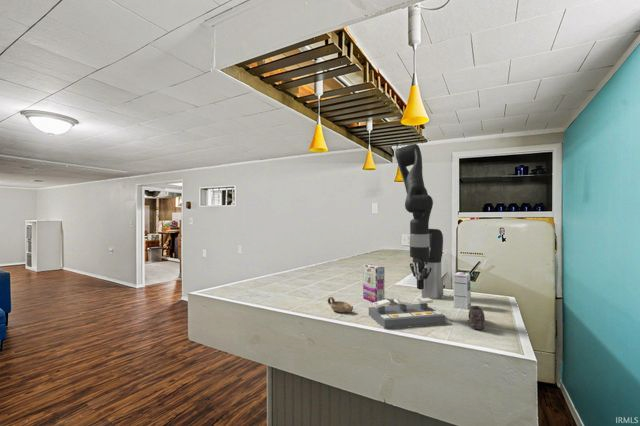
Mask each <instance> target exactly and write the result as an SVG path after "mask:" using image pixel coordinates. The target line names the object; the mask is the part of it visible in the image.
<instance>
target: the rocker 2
mask: <svg viewBox="0 0 640 426" xmlns="http://www.w3.org/2000/svg"><path fill="white" fill-rule="evenodd" d="M414 302H415V303H416V304H423V303H427V304H433V303H434V299H430V298H425V297H422V298H414Z"/></svg>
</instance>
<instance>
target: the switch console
mask: <svg viewBox="0 0 640 426" xmlns="http://www.w3.org/2000/svg"><path fill="white" fill-rule="evenodd" d="M428 304H429V303H423V304H419V303H416V304H415V303H412V306H410V305H404V304H399V305H386V306H382V307H379V308H375V307H374V306H372V307H371V306H370V307H368V315H369V317H371V318H372V319H373V320H374V321H375V322H376V323H377V322H378V323H377V324H379V326H381V327H382V326H383V327H384V328H387V329H395V328H394V327H399V328H407V327H408V326H411V327H422V326H423V327H424V326H433V325H442V324H443V325H444V324H445V325H446V315H445V314H443V313H441V312H439V311H438V310H436V309H434V308H432V307H430V306H428ZM383 327H382V328H383ZM384 328H383V329H384Z"/></svg>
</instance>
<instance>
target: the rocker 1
mask: <svg viewBox="0 0 640 426" xmlns="http://www.w3.org/2000/svg"><path fill="white" fill-rule="evenodd" d="M390 305H391V301H390V300H388V299H386V298H384V300H381V301H378V302H372V307H375V308H379V307H382V306H390Z"/></svg>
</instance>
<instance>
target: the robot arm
mask: <svg viewBox="0 0 640 426" xmlns="http://www.w3.org/2000/svg"><path fill="white" fill-rule="evenodd" d="M394 152H395V153H394V154H395V158H396V162H397V164H398V168H399V171H400V174H401V176H402V181H403V182H404V188H405V191H406V197H405V203H404V207H405V210H406V211H407V212H408V213H410V214H412V216H413V219H410V222H409V230H410V231H409V232H410V233H409V257H410V258H412V263H411V262H410V263H409V267H410V271H411V273H412V276H413V277H414V278H415V280H416V289H418V290H421V297H422V298H430V299H432V300H434V299H441V298H444V278H443V277H442V258H443V253H444V251H443V249H444V235H443V232H442V230H441V229H439V228H429V223H430V217H431V213H432V209H433V205H434V200H433V198H432V196H431V195H429V194H428V190H427V189H426V187H425V182H424V176H423V157H422V152H421V149H420V146H419V145H418V144H417V143H411V144H408V145H405V146H402V147H398V148H396V149H395V151H394ZM410 166H412V167H411V168H410V171H409V169H408V168H407V167H410Z"/></svg>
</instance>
